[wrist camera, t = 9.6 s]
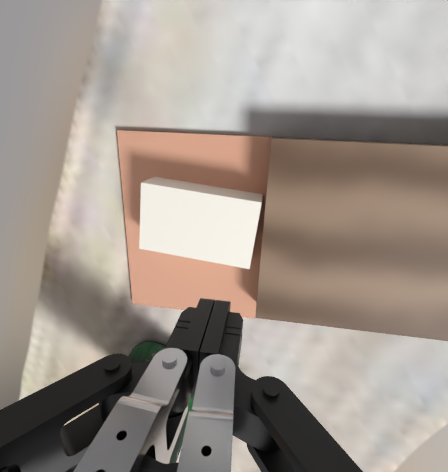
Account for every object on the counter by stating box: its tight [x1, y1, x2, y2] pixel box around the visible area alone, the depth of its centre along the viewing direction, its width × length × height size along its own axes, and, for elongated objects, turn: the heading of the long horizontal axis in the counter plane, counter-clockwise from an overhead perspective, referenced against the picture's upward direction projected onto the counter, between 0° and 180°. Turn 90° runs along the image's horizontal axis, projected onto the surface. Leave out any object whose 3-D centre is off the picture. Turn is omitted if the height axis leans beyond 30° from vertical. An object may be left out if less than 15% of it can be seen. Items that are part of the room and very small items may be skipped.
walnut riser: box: [255, 137, 448, 341], centre depth 25 cm, size 16×18×3 cm
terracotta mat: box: [117, 130, 271, 318], centre depth 28 cm, size 18×14×1 cm
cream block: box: [139, 177, 263, 269], centre depth 26 cm, size 6×10×3 cm, turn 82°
